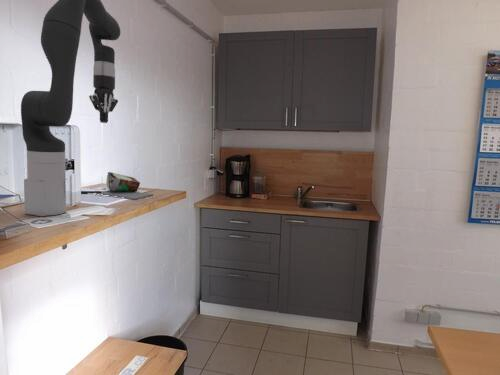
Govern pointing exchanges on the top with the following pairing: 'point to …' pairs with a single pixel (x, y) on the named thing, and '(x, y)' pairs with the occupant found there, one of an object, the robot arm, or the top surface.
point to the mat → (126, 194)
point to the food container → (121, 182)
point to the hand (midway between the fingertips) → (103, 122)
